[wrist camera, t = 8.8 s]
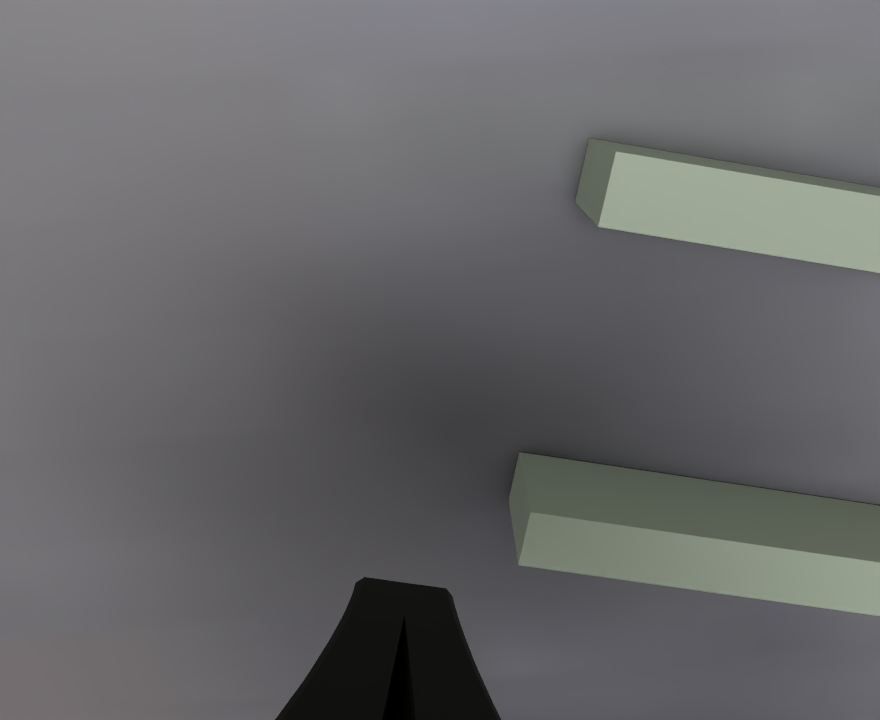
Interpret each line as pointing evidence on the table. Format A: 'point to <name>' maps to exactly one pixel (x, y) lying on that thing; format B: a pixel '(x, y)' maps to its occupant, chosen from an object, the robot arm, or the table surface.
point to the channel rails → (690, 499)
